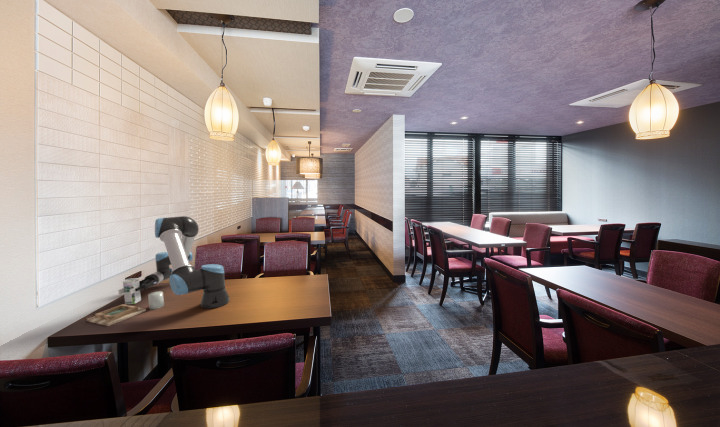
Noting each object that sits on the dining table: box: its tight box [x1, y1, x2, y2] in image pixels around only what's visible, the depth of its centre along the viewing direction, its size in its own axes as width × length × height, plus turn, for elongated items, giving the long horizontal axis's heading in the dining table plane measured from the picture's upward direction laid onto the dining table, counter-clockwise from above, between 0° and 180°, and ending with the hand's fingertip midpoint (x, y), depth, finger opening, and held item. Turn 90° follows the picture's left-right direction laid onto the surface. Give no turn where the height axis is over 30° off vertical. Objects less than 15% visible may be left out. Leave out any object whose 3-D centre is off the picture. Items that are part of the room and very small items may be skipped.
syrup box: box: [122, 277, 142, 305], centre depth 171 cm, size 6×6×14 cm
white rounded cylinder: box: [147, 290, 165, 310], centre depth 164 cm, size 7×7×8 cm
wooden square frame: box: [86, 303, 147, 327], centre depth 153 cm, size 18×18×3 cm
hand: (124, 292), depth 165 cm, fingers closed on syrup box, 6 cm apart
